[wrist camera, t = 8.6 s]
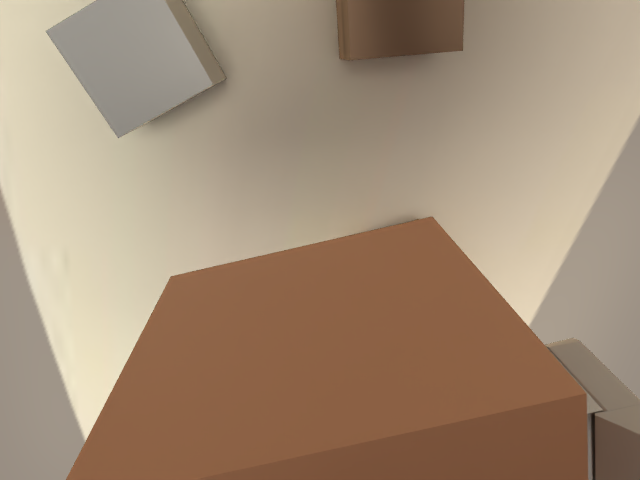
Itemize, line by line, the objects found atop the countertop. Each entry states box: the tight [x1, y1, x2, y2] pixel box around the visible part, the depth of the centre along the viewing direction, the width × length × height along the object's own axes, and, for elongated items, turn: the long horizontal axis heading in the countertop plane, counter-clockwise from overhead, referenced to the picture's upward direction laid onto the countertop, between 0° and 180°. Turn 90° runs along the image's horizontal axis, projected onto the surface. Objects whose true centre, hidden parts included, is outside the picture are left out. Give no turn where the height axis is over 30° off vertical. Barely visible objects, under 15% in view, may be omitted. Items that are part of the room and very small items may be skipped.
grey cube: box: [46, 0, 226, 138], centre depth 23 cm, size 5×5×5 cm
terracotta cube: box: [66, 217, 588, 480], centre depth 8 cm, size 5×5×5 cm
